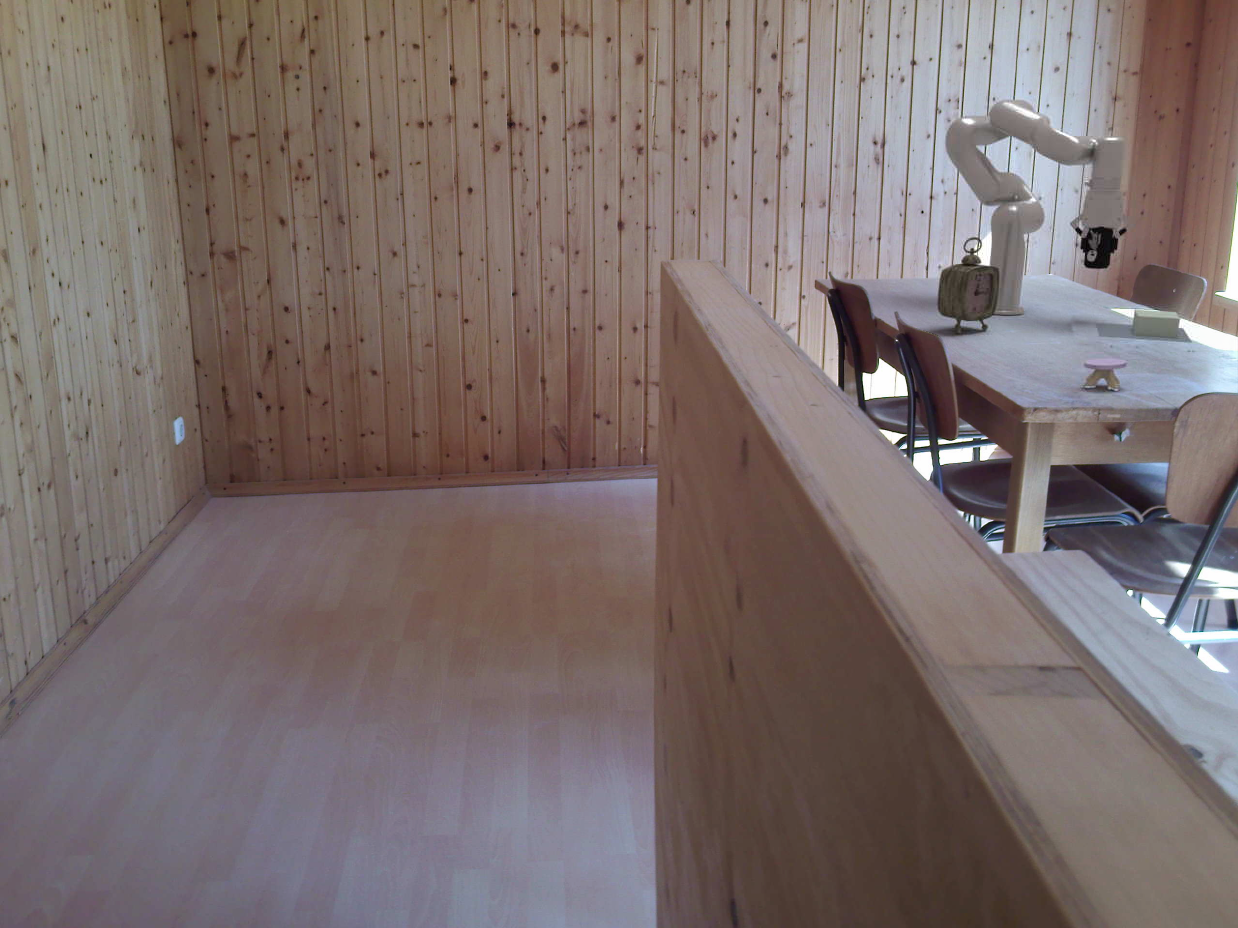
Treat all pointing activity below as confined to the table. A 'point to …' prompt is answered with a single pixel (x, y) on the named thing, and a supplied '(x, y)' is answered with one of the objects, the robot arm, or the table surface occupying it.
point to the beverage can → (1098, 248)
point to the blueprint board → (1128, 332)
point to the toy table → (1104, 371)
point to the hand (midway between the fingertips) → (1098, 252)
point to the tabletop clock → (968, 290)
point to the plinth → (1156, 323)
